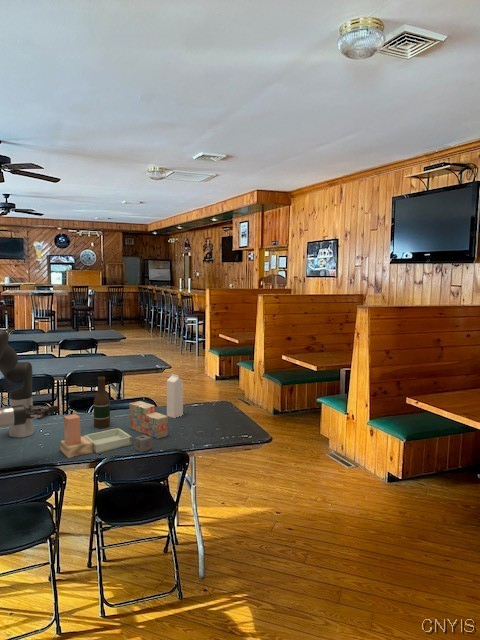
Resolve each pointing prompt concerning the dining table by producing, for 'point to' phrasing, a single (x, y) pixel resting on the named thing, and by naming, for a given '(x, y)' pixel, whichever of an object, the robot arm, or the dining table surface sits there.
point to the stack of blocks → (148, 420)
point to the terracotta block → (72, 430)
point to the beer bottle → (101, 406)
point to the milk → (174, 396)
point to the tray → (109, 440)
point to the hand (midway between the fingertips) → (57, 408)
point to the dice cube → (143, 443)
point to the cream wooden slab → (77, 448)
